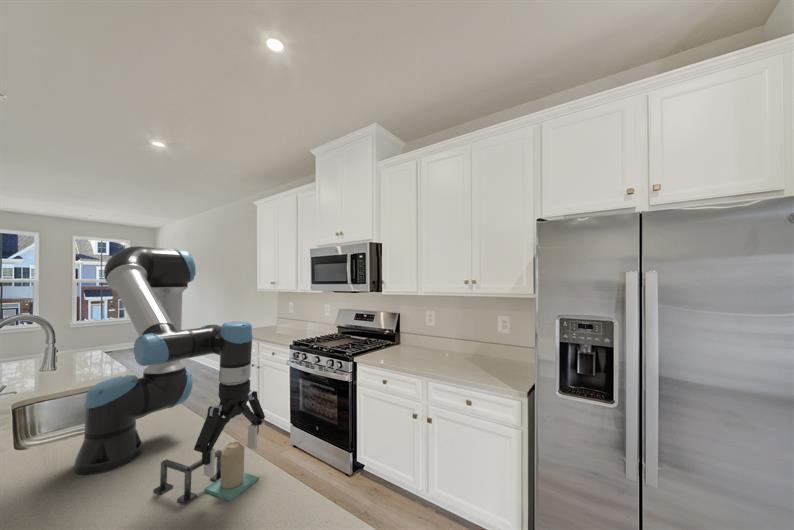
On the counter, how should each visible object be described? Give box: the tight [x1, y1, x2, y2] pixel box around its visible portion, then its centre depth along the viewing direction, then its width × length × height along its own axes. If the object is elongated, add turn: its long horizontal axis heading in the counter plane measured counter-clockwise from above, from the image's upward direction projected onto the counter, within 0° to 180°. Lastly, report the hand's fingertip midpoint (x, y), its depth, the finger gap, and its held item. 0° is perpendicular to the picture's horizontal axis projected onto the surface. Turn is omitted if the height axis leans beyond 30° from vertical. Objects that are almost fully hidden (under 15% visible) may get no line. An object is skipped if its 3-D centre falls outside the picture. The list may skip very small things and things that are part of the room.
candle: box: [221, 441, 245, 489], centre depth 86 cm, size 6×6×10 cm
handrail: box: [152, 449, 222, 505], centre depth 86 cm, size 12×12×8 cm
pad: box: [204, 472, 259, 502], centre depth 85 cm, size 9×9×1 cm
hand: (232, 460), depth 86 cm, fingers open, 13 cm apart
